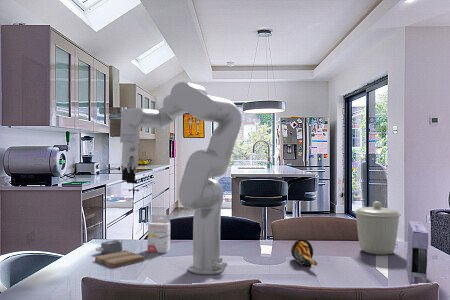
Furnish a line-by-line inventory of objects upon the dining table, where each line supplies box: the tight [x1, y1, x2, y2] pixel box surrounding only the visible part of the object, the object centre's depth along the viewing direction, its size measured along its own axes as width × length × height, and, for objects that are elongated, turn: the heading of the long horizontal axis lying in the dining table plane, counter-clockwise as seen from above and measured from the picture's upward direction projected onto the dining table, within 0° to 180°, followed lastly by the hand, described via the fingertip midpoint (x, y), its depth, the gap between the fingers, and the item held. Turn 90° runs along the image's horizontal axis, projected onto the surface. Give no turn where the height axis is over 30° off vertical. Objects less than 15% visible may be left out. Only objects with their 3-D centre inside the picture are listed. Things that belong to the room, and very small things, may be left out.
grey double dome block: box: [95, 239, 123, 255], centre depth 158 cm, size 4×11×4 cm, turn 137°
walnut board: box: [94, 250, 146, 269], centre depth 146 cm, size 13×13×2 cm
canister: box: [354, 200, 402, 256], centre depth 161 cm, size 18×18×21 cm
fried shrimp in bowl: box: [290, 238, 319, 267], centre depth 143 cm, size 9×11×18 cm
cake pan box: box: [406, 220, 429, 285], centre depth 126 cm, size 19×5×18 cm, turn 158°
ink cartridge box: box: [147, 214, 171, 254], centre depth 160 cm, size 9×5×15 cm, turn 84°
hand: (128, 181), depth 157 cm, fingers open, 9 cm apart
